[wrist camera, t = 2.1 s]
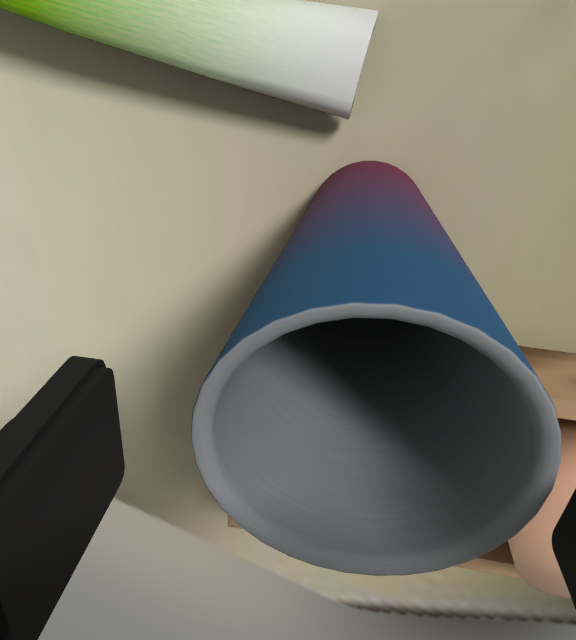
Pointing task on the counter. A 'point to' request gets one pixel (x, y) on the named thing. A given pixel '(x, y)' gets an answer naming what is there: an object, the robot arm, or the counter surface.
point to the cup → (375, 395)
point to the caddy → (570, 403)
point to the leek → (231, 41)
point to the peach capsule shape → (548, 524)
